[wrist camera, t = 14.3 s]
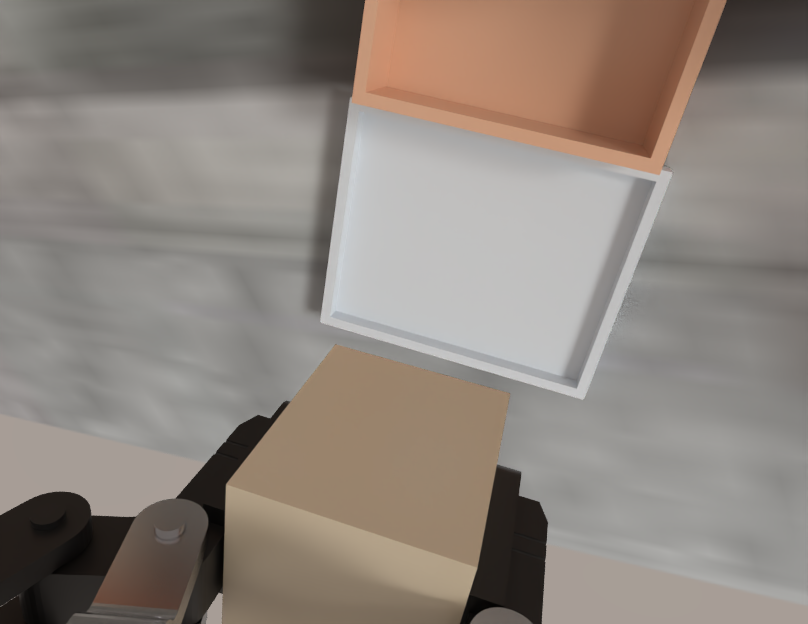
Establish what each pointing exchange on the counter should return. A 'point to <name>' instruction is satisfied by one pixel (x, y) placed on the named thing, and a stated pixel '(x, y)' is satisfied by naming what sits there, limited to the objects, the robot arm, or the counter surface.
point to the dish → (541, 70)
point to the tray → (484, 247)
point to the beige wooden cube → (364, 499)
